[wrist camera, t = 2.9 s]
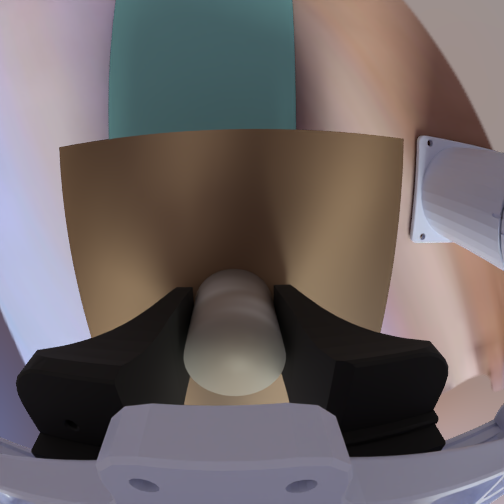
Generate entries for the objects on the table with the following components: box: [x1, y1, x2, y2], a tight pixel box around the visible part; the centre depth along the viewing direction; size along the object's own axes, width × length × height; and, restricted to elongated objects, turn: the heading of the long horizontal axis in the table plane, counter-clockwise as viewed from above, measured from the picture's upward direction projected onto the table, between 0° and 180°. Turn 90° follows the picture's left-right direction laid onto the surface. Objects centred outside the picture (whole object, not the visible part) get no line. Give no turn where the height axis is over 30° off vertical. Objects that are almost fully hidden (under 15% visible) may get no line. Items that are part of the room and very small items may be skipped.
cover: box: [59, 129, 404, 406], centre depth 13 cm, size 13×13×8 cm
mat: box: [109, 0, 296, 139], centre depth 16 cm, size 12×12×1 cm
